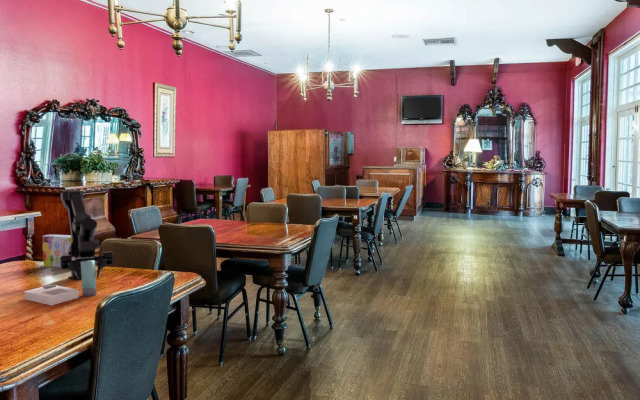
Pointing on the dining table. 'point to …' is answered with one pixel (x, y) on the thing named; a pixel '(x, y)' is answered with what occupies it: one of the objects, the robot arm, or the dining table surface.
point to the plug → (88, 278)
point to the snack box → (55, 249)
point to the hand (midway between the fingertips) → (88, 278)
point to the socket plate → (51, 294)
